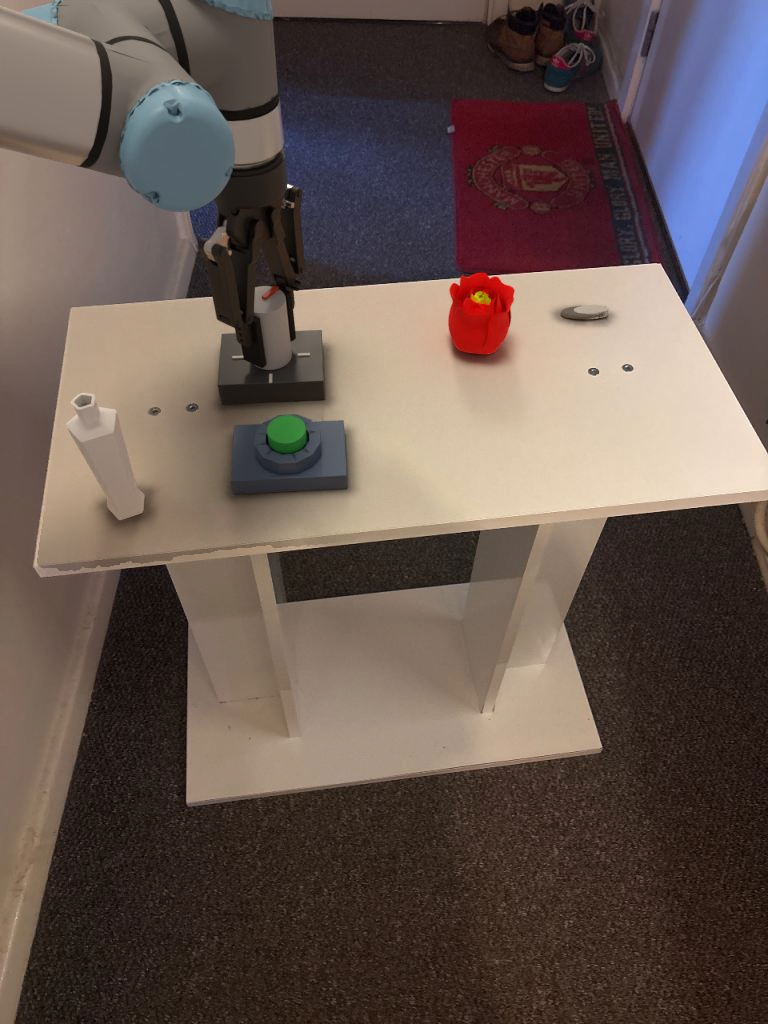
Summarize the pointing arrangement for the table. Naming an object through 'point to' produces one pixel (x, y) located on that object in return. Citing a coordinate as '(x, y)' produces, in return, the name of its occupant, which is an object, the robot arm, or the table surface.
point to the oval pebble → (585, 312)
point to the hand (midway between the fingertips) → (270, 348)
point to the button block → (289, 459)
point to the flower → (480, 313)
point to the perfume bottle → (106, 454)
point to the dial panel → (272, 373)
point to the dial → (273, 325)
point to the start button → (287, 434)
